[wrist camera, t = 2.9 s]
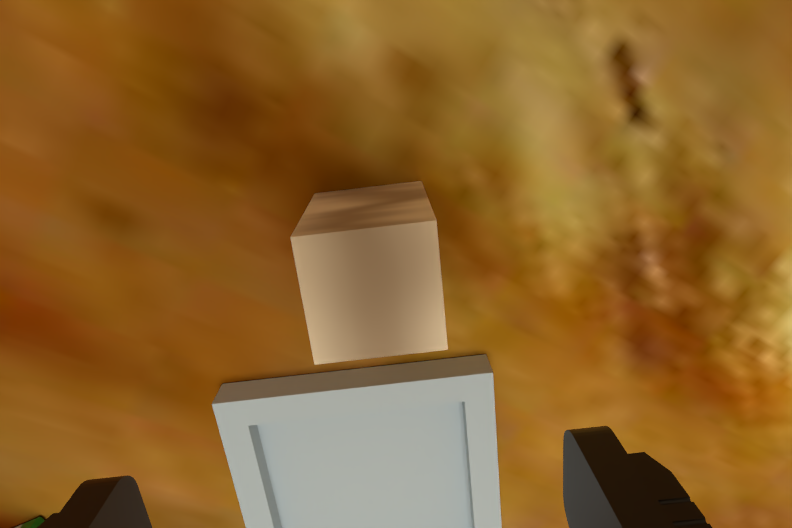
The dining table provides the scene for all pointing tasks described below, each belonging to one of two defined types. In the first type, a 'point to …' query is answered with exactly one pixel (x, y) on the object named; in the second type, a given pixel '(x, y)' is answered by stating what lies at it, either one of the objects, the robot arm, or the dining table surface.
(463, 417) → the tray
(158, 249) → the dining table surface
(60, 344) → the dining table surface
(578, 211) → the dining table surface
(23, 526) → the milk carton
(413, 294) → the maple block
